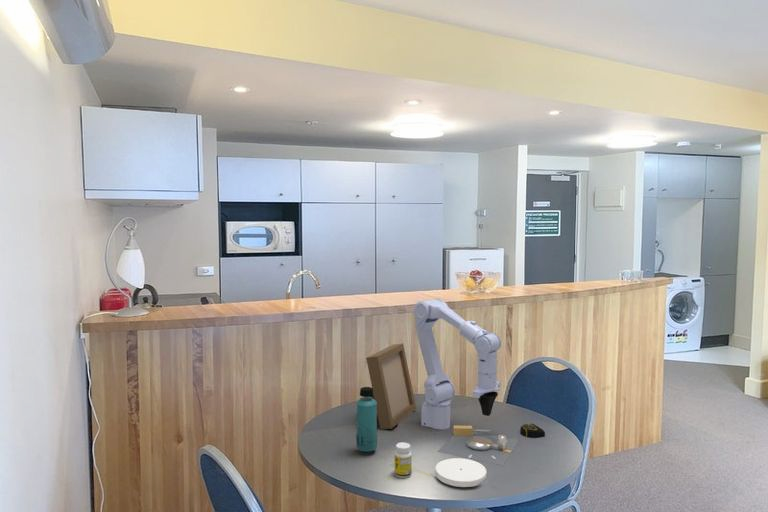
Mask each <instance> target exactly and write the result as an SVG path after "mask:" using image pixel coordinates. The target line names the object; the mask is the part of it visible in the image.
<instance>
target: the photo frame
mask: <svg viewBox="0 0 768 512" xmlns="http://www.w3.org/2000/svg"><path fill="white" fill-rule="evenodd" d="M406 356H407V355H406V350H405V346H404V343H396V344H391V345H389V346H387V347H386V348H383V349H381V350H379V351H377V352H375V353H372V354H371V355H369V356H367V357H365V358H366V363H367V369H368V374H369V379H370V384H371V388H373V396H371V398H373V399H374V400H375V401H376V402H377V419H378V423H379V425H378V426H379V427H380V428H379V429H380V430H391V429H393V428H394V427H396V426H397V425H398V424H399V423H400V422H401V421H402V420H403V419H405V418H406V417H407V416H408V415H410V414H412V413H413V412H414V411H415V410H416V409H417V405H416V401H415V395H414V390H413V386H412V380H411V376H410V371H409V365H408V361H407V357H406Z"/></svg>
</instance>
